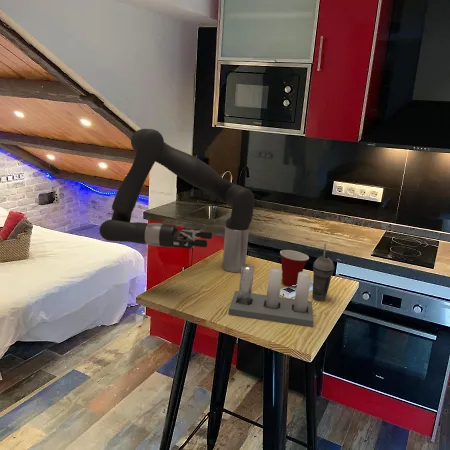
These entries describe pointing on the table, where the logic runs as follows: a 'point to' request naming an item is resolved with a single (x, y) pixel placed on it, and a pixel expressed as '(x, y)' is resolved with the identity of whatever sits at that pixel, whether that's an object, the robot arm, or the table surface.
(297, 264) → the plastic cup
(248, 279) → the steel pin
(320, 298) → the beverage cup
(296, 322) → the pin board
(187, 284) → the table surface
